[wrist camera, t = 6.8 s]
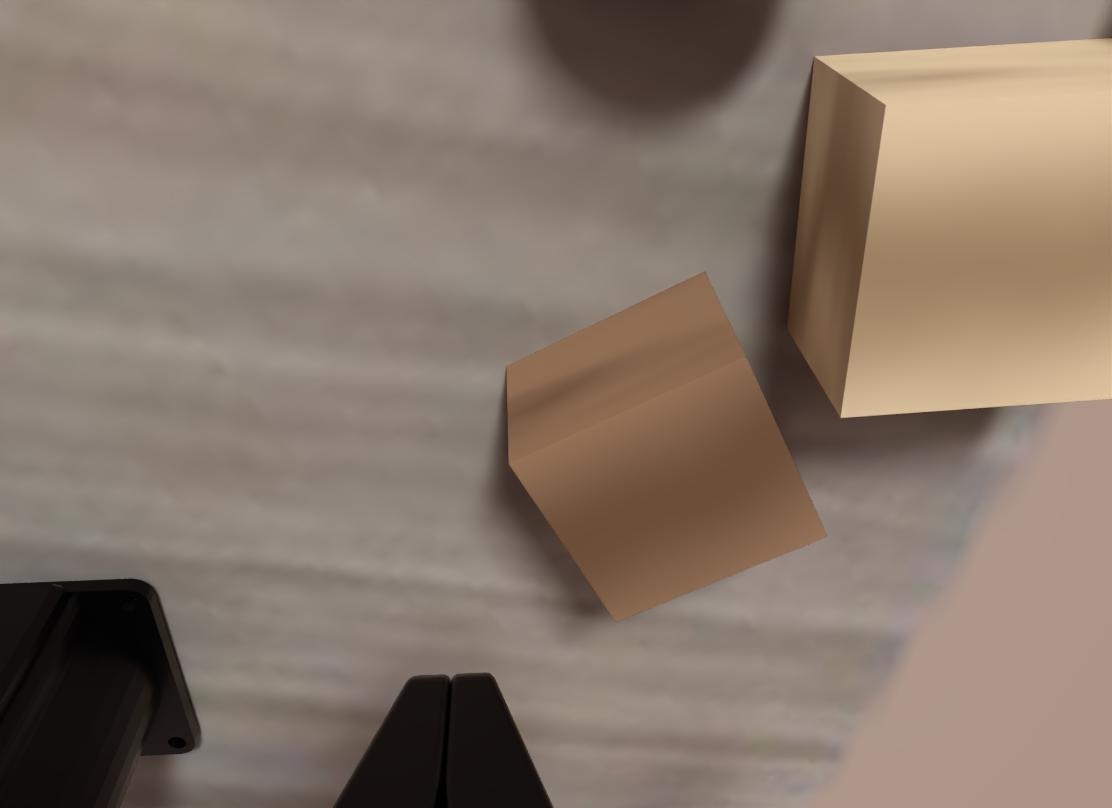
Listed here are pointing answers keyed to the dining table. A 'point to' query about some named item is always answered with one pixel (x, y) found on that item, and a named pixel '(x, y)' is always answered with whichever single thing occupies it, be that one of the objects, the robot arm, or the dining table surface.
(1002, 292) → the maple block
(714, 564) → the walnut block
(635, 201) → the dining table surface
